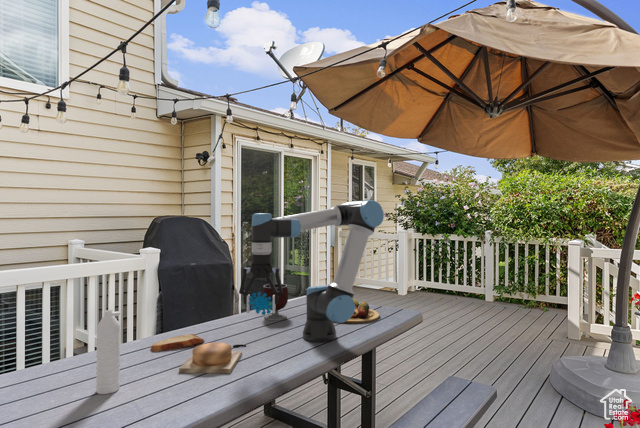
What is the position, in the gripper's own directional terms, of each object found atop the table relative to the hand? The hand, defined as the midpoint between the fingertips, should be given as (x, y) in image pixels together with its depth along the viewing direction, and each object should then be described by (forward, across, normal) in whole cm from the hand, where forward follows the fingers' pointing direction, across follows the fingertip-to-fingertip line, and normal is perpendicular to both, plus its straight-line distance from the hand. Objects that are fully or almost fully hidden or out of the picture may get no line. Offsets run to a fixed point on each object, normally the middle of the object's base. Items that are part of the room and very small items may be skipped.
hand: (261, 312), depth 152 cm
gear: (+1, 0, 0) cm, 1 cm away
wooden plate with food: (+18, +38, +66) cm, 79 cm away
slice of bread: (+19, -38, +16) cm, 45 cm away
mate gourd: (+18, -3, +63) cm, 65 cm away
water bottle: (+18, -42, -28) cm, 54 cm away
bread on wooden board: (+18, -17, -4) cm, 25 cm away
